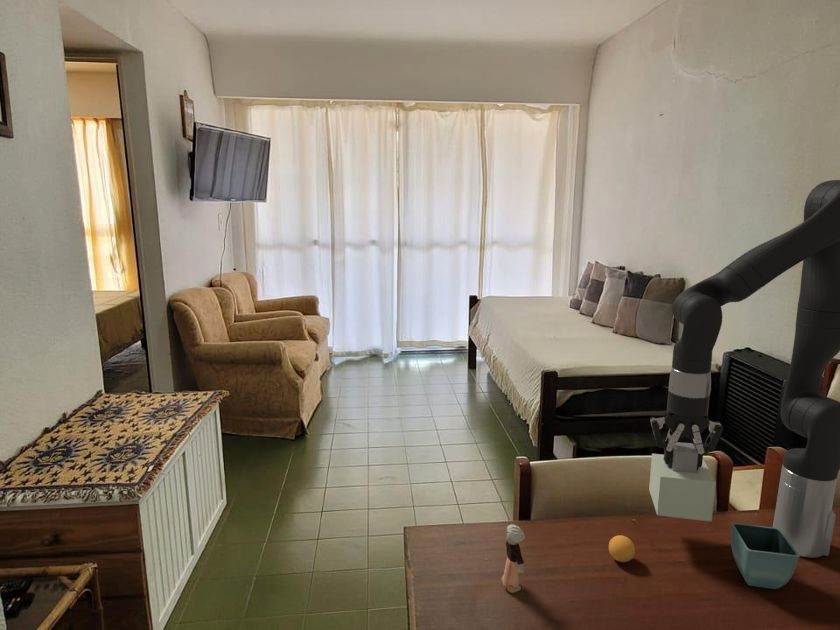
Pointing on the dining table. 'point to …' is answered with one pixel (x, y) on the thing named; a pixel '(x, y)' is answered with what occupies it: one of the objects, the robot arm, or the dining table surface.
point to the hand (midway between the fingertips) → (682, 466)
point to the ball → (621, 548)
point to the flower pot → (763, 555)
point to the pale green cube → (682, 485)
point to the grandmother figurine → (513, 559)
